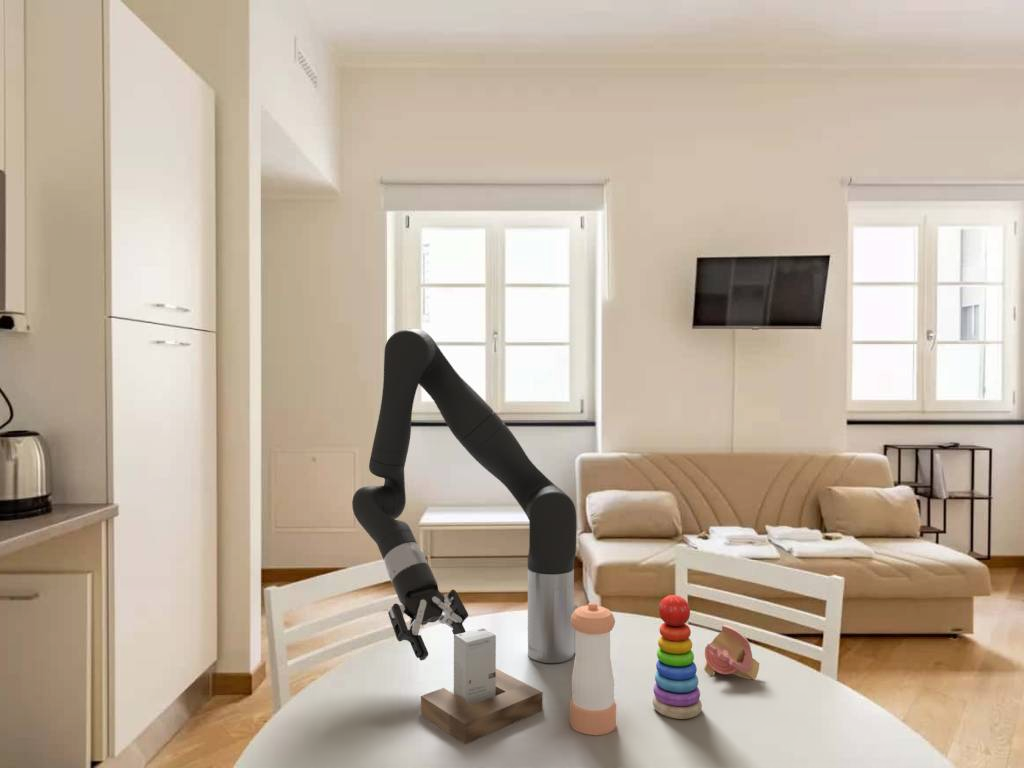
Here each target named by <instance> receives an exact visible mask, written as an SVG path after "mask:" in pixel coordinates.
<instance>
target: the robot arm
mask: <svg viewBox="0 0 1024 768" xmlns="http://www.w3.org/2000/svg"><path fill="white" fill-rule="evenodd" d="M383 353H384V357H383V382H382V383H383V384H382V394H381V402H380V407H379V408H380V409H379V414H378V420H377V424H376V427H375V428H376V429H375V433H374V439H373V444H372V446H371V447H372V448H371V453H370V458H369V463H368V470H369V471H370V473H371V474H372V475H374V476H376V477H378V478H383V479H384V483H383V485H369V486H362V487H360V488H358V489H357V490H356V491H355V493H354V494H353V497H352V501H351V502H352V505H351V506H352V511H353V515H354V516H355V518H356V520H357V521H358V523H359V525H360V526H361V527H362V528H363V530H365V532H366V533H367V534H368V536H370V538H371V539H372V540H373V541H374V542H375V543H376V546H377V547H378V551H379V552H380V554H381V557H382V559H383V561H384V565H385V569H386V571H387V572H386V573H387V574H388V578H389V579H390V581H391V584H392V587H393V588H394V590H395V594H396V595H397V598H398V600H399V603H400V604H401V605H400V604H399V603H396V602H395V603H394V604H392V606H391V608H390V609H389V611H388V618H389V620H390V623H391V625H392V628H393V631H394V634H395V637H396V640H397V641H398V642H402V641H408V643H410V645H411V649H412V650H413V653H414V655H415V657H416V658H417V659H419V661H425V660H426V659H427V658H428V656H429V652H428V648H427V647H426V644H425V642H424V640H423V637H422V635H420V634H419V633H420V627H421V626H424V625H427V624H428V623H436V622H437V621H438V622H439V623H440V624H442V625H446V626H448V627H450V628H451V632H452V634H453V636H454V635H455V634H460V633H464V632H467V631H466V629H465V627H464V624H463V623H464V622H465V621H466V620H467V619H468V617H469V613H468V611H467V608H465V605H464V603H463V602H462V600H461V598H460V596H459V594H458V592H457V591H456V590H455V589H451V590H450V591H449V592H447V593H445V594H442V593H441V591H440V590H439V587H438V582H437V580H436V578H435V576H434V573H433V571H432V569H431V567H430V564H429V563H428V561H427V558H426V556H425V554H424V552H423V551H422V549H421V547H420V546H419V545H418V544H419V543H418V542H417V540H416V538H415V536H414V533H413V531H412V529H411V527H410V525H409V524H408V523H407V522H405V521H404V520H403V521H402V520H399V519H397V518H399V517H400V516H401V515H402V514H403V512H404V510H405V507H406V502H407V500H406V498H407V497H406V496H407V495H406V486H405V485H406V483H405V466H406V461H407V457H408V452H409V448H410V447H409V446H410V442H411V441H410V440H411V435H412V415H413V407H414V401H415V396H416V392H417V389H418V386H420V387H421V388H422V389H423V390H424V391H425V392H426V393H427V394H428V396H430V398H431V400H432V401H433V402H434V403H435V405H436V407H437V409H438V411H439V413H440V414H441V416H442V418H443V420H444V422H445V424H446V425H447V427H448V428H449V430H450V431H451V433H452V435H453V436H454V437H455V438H456V440H457V441H458V442H459V443H460V444H461V445H462V447H463V448H464V449H465V450H466V452H468V454H470V455H471V457H472V458H473V459H474V460H476V461H475V462H478V464H480V466H482V468H484V469H485V470H486V471H487V472H488V473H490V474H491V475H492V476H493V477H494V478H496V479H497V480H499V481H500V483H501V484H502V485H504V486H505V487H506V489H507V490H508V491H509V492H510V493H511V495H512V496H513V498H514V499H515V501H516V502H517V503H518V505H519V506H520V508H521V509H522V510H523V512H524V513H525V515H526V517H527V519H528V521H529V523H528V524H529V526H528V527H529V529H528V530H529V532H528V533H529V540H528V541H529V544H528V545H529V547H528V555H527V655H528V657H529V658H530V659H532V660H534V661H536V662H539V663H544V664H545V663H546V664H559V663H560V664H561V663H564V662H568V661H570V660H572V659H573V658H574V656H575V651H576V630H575V629H574V628H573V626H572V623H571V620H570V619H571V615H572V614H573V612H574V611H575V609H577V608H578V605H577V604H575V594H574V592H575V585H574V584H575V583H574V581H575V577H574V576H575V574H574V573H575V571H574V568H575V557H576V553H577V511H576V505H575V504H574V501H573V500H572V498H571V497H570V496H569V495H568V494H567V493H566V492H564V490H562V489H561V488H560V487H558V486H557V485H556V484H554V482H553V481H551V479H549V478H548V477H547V476H546V475H545V474H544V473H543V472H541V470H539V468H537V467H536V465H535V464H534V462H532V460H531V459H530V458H529V457H528V455H527V454H526V451H525V450H524V448H523V447H522V446H521V444H520V442H519V441H518V439H517V438H516V437H515V435H514V433H513V432H512V431H511V429H510V428H509V427H508V426H507V424H506V423H505V422H504V421H503V420H502V419H501V417H500V416H499V415H498V414H497V413H496V411H495V410H493V408H491V406H490V405H489V404H488V403H487V402H486V401H485V400H484V399H483V398H482V396H481V395H480V394H479V393H478V392H476V391H475V390H474V389H473V388H472V386H471V385H469V384H468V383H467V382H466V381H465V380H464V379H463V378H462V377H461V376H460V374H458V372H457V371H456V369H455V368H454V366H452V364H451V363H450V361H449V360H448V359H447V358H446V356H445V354H444V353H443V352H442V350H441V349H440V347H439V346H438V344H437V343H436V341H435V340H434V339H433V337H432V336H431V335H430V334H429V333H428V332H426V331H424V330H423V329H420V328H413V327H412V328H405V329H402V330H397V332H394V333H393V334H392V335H391V336H390V337H389V338H388V339H387V341H386V342H385V346H384V352H383ZM443 613H444V614H443ZM404 615H406V616H408V618H410V620H409V621H410V622H409V625H407V623H406V621H405V618H404ZM407 626H408V627H407Z"/></svg>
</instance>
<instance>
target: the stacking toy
mask: <svg viewBox="0 0 1024 768" xmlns="http://www.w3.org/2000/svg"><path fill="white" fill-rule="evenodd" d="M658 612H659V616H660V619H661V620H662V621H663V622H664V623H661V625H660V626H659V634H660V637H659V638H658V641H657V645H658V647H659V648H658V649H657V651H656V656H657V662H656V663H655V664H656V665H655V667H656V673H655V674H654V680H655V683H654V686H653V694H654V696H653V698H652V705H653V708H654V709H655V710H656V711H657V712H658V713H659V714H661V715H663V716H665V717H668V718H671V719H678V720H685V719H687V720H688V719H691V718H694V717H696V716H698V715H700V713H701V711H702V709H703V708H702V707H703V705H702V700H700V699H701V698H700V697H701V692H700V689H699V687H698V686H699V677H698V675H697V674H696V673H697V670H698V669H697V665H696V663H695V661H694V660H695V653H694V652H693V650H692V648H693V642H692V640H691V638H690V636H691V633H692V631H691V628H690V626H689V625H687V622H688V620H689V619H690V616H691V608H690V605H689V603H688V601H687V600H686V599H685V598H684V597H682V596H680V595H677V594H670V595H667V596H665V597H664V598H662V599H661V601H660V602H659V607H658Z"/></svg>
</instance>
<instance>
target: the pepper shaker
mask: <svg viewBox="0 0 1024 768" xmlns="http://www.w3.org/2000/svg"><path fill="white" fill-rule="evenodd" d="M570 620H571V623H572V626H573V628H574V629H575V630H576V651H575V654H574V656H575V657H574V662H573V668H572V676H571V690H572V693H571V695H572V696H571V698H570V701H569V723H570V726H571V728H573V730H575V731H576V732H578V733H581V734H585V735H589V736H602V735H607V734H609V733H612V732H613V731H614V730H615V729H616V727H617V703H616V700H615V698H614V694H615V692H614V691H615V678H614V672H613V666H612V660H611V631H612V630H613V628H614V627H615V625H616V624H615V623H616V620H615V617H614V615H613V613H612V611H611V610H609V608H606V607H604V606H601V605H598V604H597V602H589V603H588V604H586V605H582V606H579V607H577V609H575V611H574V612H573V614H572V615H571V619H570Z"/></svg>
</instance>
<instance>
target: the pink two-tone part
mask: <svg viewBox="0 0 1024 768" xmlns="http://www.w3.org/2000/svg"><path fill="white" fill-rule="evenodd" d="M751 649H752V648H751V644H750V642H749V640H748V639H747V637H746V636H745V635H744V634H743V633H742V632H740V631H739V630H737V629H736V628H735V627H733V626H731V625H726V624H723V625H722V626H721V631H720V632H719V634H717V636H715V637H714V638H713V640H712V641H711V643H707V645H706V646H705V647H704V658H705V665H704V668H703V670H704V672H705V673H706V674H707V675H708V676H709V677H712V676H713V674H714V672H716V673H718V674H721V675H730V674H733V675H734V676H738V677H742V678H745V679H751V680H753V681H755V680H756V679H757V677H758V674H759V670H760V663H759V662H758V660H756V659H755V658H753V653H752V650H751Z"/></svg>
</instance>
